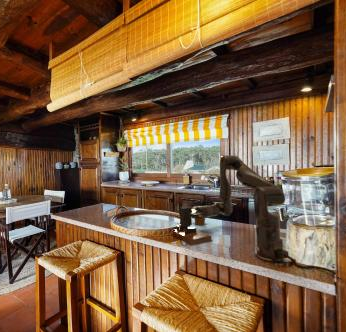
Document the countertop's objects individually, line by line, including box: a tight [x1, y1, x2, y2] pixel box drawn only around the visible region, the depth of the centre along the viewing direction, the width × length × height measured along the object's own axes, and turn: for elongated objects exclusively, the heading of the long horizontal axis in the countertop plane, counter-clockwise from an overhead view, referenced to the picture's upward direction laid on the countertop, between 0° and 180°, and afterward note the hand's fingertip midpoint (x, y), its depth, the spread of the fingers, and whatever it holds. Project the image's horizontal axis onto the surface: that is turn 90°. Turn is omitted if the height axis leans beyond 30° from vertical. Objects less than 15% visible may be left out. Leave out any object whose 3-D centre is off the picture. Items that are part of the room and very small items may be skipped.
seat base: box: [172, 224, 212, 246], centre depth 126 cm, size 18×14×6 cm
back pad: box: [179, 206, 193, 227], centre depth 130 cm, size 4×6×11 cm, turn 111°
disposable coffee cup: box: [192, 205, 206, 226], centre depth 152 cm, size 10×10×12 cm
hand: (181, 215), depth 129 cm, fingers closed on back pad, 3 cm apart
